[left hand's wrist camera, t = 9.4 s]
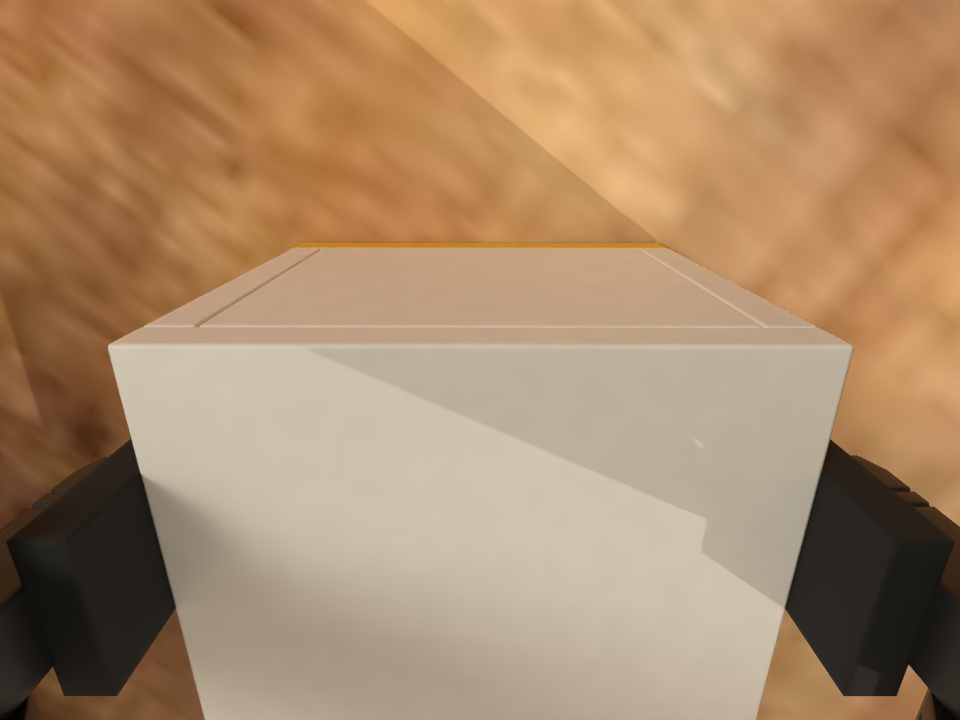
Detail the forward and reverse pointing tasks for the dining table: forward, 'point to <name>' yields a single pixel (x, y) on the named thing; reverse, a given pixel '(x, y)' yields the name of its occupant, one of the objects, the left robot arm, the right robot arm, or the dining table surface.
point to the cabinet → (480, 481)
